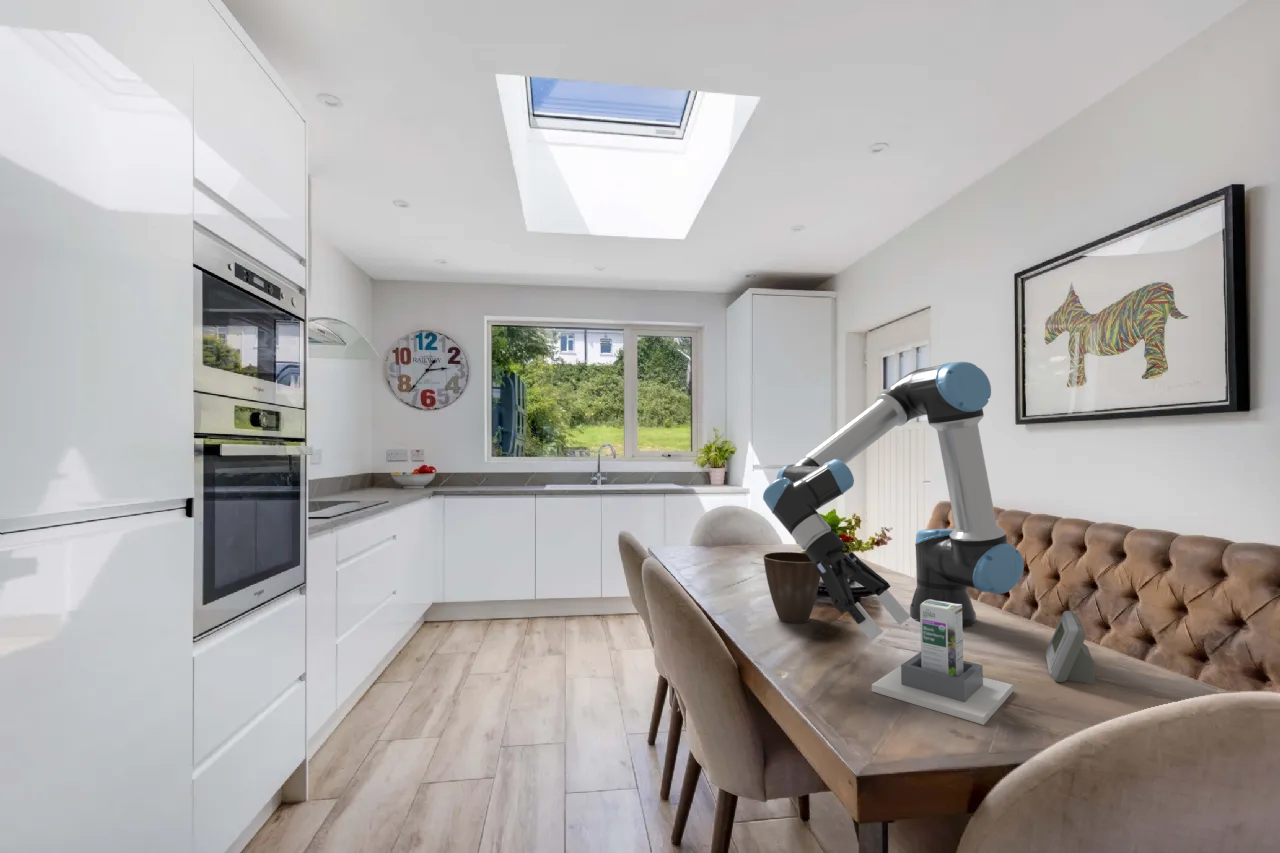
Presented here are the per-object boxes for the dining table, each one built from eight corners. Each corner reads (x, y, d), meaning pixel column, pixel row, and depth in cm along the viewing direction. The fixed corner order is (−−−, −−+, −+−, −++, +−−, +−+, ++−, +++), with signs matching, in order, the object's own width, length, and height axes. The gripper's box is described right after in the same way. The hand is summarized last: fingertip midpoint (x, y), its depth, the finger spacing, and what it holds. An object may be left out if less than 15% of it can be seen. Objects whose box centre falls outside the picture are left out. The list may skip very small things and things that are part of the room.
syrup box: (920, 684, 104) (918, 603, 105) (931, 675, 109) (929, 597, 109) (955, 693, 101) (953, 609, 101) (964, 683, 105) (963, 603, 105)
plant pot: (761, 610, 158) (761, 551, 158) (818, 612, 156) (817, 552, 156) (766, 626, 143) (765, 561, 143) (828, 629, 141) (827, 563, 141)
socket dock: (909, 665, 117) (909, 641, 117) (1013, 691, 104) (1012, 665, 104) (871, 691, 104) (871, 664, 105) (983, 725, 92) (983, 694, 92)
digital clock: (1047, 656, 122) (1046, 605, 123) (1102, 667, 116) (1100, 613, 116) (1032, 678, 111) (1030, 622, 111) (1091, 692, 104) (1089, 632, 105)
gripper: (834, 545, 133) (902, 625, 122) (775, 559, 115) (849, 655, 104) (856, 524, 129) (929, 604, 118) (799, 535, 112) (878, 632, 100)
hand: (891, 628), depth 111 cm, fingers open, 13 cm apart
